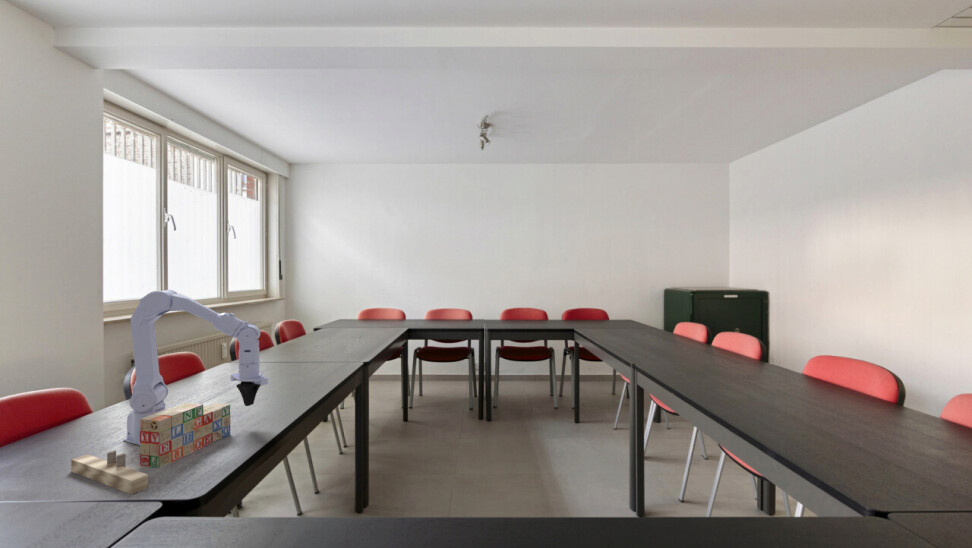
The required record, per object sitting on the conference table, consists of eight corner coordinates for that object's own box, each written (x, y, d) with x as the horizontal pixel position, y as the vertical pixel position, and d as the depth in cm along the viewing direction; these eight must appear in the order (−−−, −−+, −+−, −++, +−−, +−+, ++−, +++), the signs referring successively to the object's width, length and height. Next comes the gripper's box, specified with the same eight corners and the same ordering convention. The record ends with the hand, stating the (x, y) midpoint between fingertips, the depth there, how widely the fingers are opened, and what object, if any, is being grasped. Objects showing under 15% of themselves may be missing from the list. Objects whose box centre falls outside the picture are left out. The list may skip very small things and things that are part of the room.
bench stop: (71, 471, 96) (71, 449, 96) (91, 464, 99) (91, 443, 99) (131, 494, 86) (132, 469, 86) (152, 486, 89) (152, 462, 89)
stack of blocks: (213, 432, 120) (213, 393, 120) (230, 434, 118) (231, 394, 119) (139, 466, 99) (139, 417, 99) (159, 468, 98) (159, 419, 98)
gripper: (276, 362, 126) (276, 403, 126) (245, 358, 131) (245, 398, 131) (256, 366, 119) (256, 411, 119) (224, 362, 125) (224, 405, 125)
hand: (249, 404), depth 125 cm, fingers closed
